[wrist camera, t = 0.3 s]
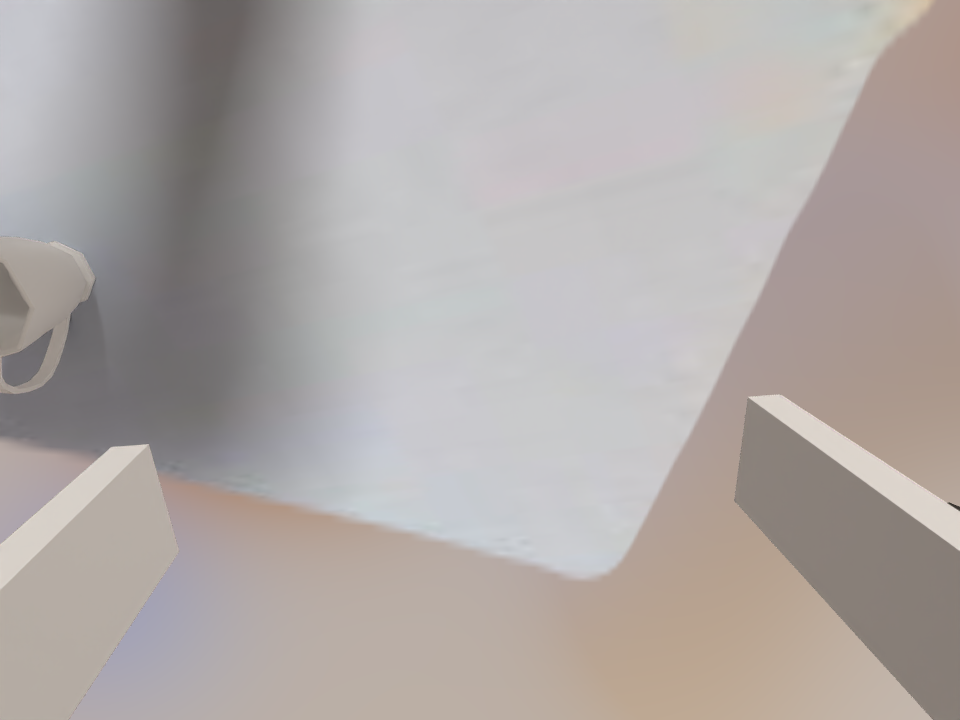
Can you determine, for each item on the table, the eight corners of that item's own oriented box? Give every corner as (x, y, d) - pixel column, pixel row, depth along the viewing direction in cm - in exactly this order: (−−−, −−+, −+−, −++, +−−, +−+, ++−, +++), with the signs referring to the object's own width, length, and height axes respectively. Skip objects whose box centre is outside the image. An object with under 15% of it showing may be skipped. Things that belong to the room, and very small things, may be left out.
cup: (111, 226, 35) (23, 242, 28) (125, 370, 38) (49, 420, 31) (-7, 213, 34) (-132, 226, 27) (16, 362, 38) (-89, 410, 30)
